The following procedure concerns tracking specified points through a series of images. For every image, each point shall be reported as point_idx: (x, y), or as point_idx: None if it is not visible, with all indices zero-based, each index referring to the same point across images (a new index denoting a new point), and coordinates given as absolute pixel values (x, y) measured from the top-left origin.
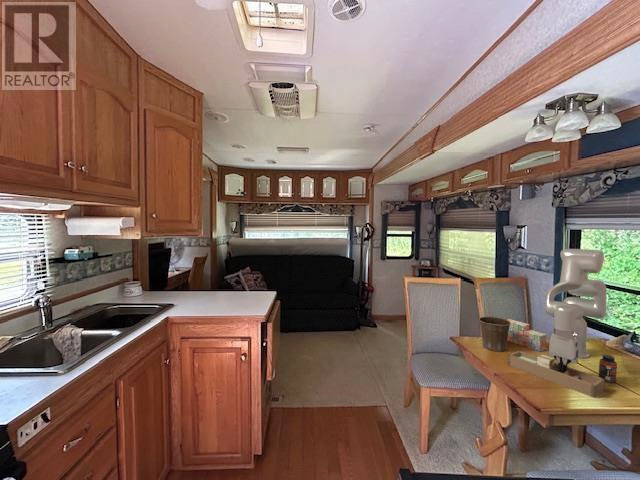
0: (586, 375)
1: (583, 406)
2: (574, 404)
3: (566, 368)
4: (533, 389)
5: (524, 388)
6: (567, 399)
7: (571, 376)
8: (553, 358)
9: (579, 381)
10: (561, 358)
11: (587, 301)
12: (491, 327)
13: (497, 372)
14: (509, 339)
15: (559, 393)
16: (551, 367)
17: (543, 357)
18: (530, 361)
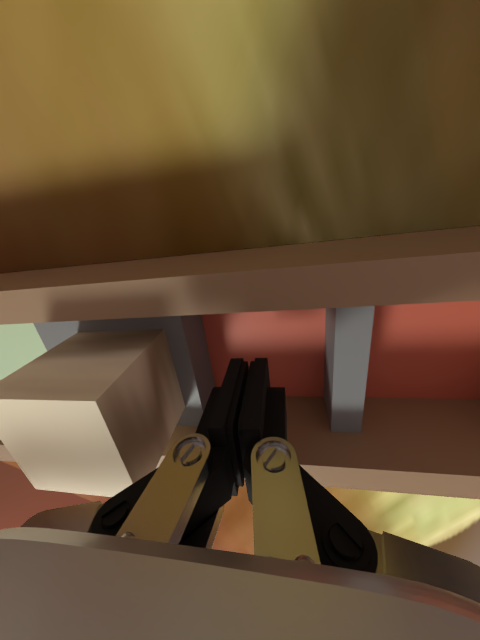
0: (468, 296)
1: (449, 523)
2: (412, 530)
3: (286, 420)
4: (247, 524)
5: (226, 535)
6: (375, 513)
7: (364, 469)
8: (91, 407)
9: (436, 488)
10: (191, 508)
11: None
12: None
13: (90, 496)
14: None
15: (328, 491)
16: (165, 388)
17: (51, 462)
18: (18, 354)
